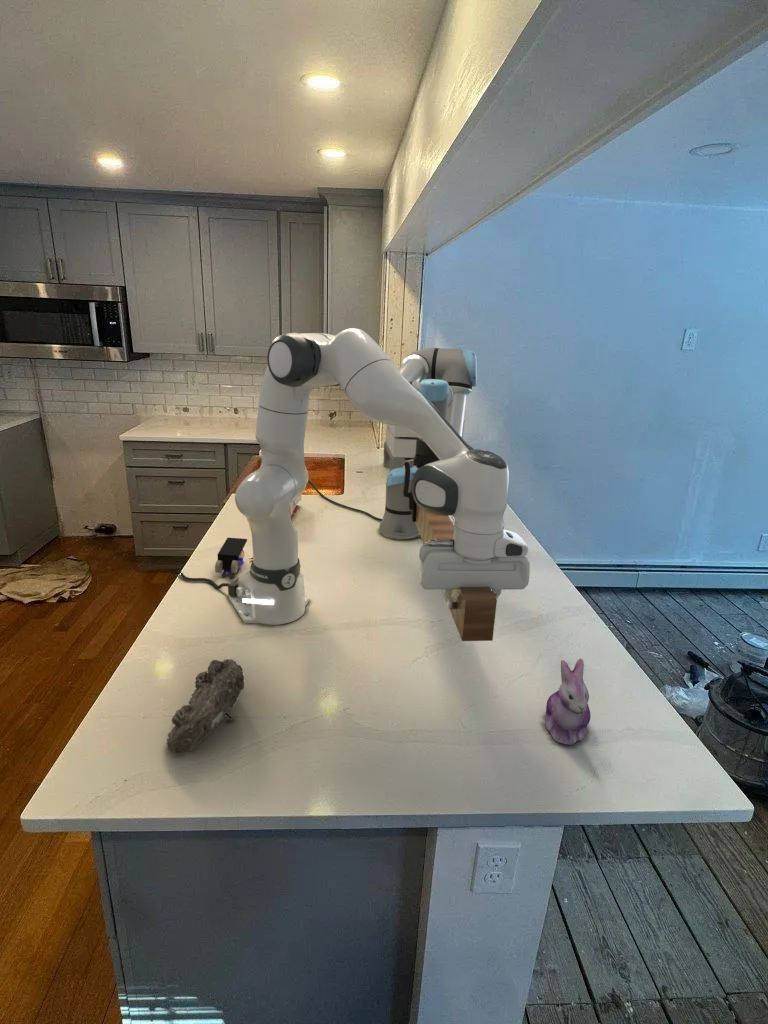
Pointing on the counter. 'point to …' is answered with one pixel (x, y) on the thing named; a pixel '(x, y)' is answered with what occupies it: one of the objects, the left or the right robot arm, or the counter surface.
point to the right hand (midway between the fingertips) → (424, 520)
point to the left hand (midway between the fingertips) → (470, 607)
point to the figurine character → (230, 556)
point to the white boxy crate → (400, 446)
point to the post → (472, 602)
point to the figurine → (569, 706)
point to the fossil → (206, 705)
